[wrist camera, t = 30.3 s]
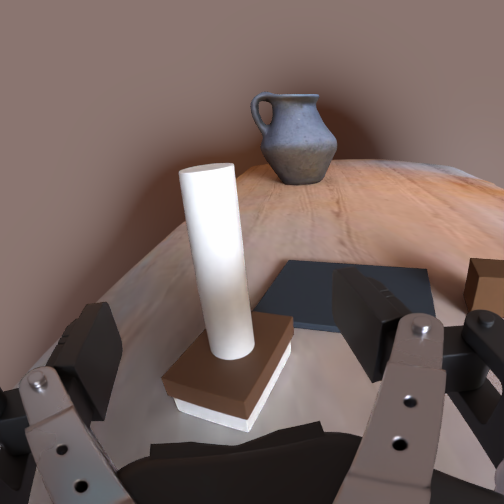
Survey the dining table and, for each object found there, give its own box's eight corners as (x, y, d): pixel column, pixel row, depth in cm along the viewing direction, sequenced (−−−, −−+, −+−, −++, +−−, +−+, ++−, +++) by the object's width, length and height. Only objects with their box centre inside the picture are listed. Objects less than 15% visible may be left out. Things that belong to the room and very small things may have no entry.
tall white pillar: (250, 436, 17) (210, 182, 11) (173, 411, 19) (109, 189, 13) (294, 351, 24) (283, 154, 18) (230, 339, 26) (203, 159, 21)
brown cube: (469, 316, 24) (479, 276, 22) (463, 294, 27) (470, 257, 25) (506, 318, 22) (517, 279, 21) (496, 296, 25) (504, 260, 24)
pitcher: (348, 186, 76) (341, 84, 66) (259, 193, 77) (248, 88, 67) (329, 173, 95) (323, 92, 86) (257, 179, 96) (249, 96, 86)
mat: (249, 321, 28) (248, 315, 28) (289, 264, 38) (288, 259, 38) (437, 340, 22) (438, 334, 22) (426, 273, 32) (426, 268, 32)
